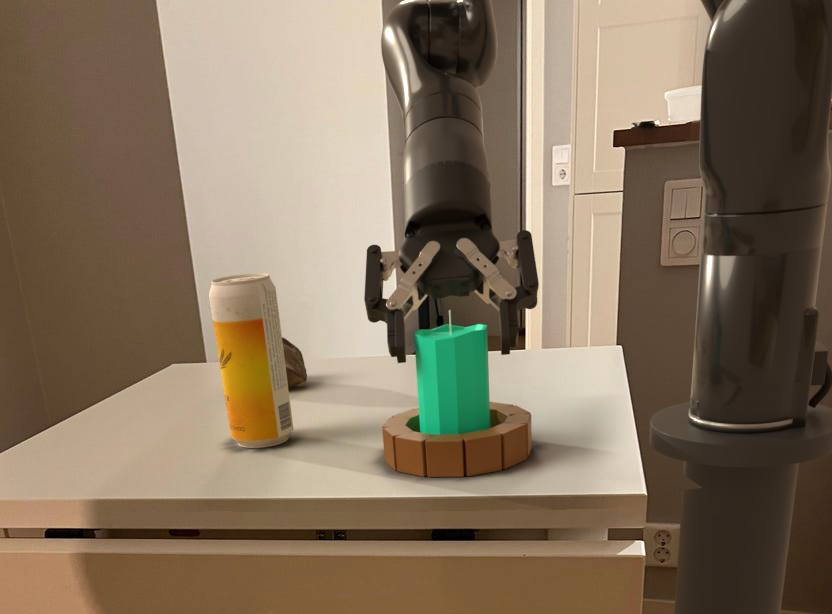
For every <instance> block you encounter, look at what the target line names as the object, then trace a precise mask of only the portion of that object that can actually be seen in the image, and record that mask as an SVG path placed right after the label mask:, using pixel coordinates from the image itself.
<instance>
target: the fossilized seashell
mask: <svg viewBox="0 0 832 614" xmlns="http://www.w3.org/2000/svg"><path fill="white" fill-rule="evenodd" d="M282 342H283V350H284V358H285V366H286V374H287V382H288V389H289V388H293V387H295V386H298V385H301V384H303V383H306V381H308V373H307V368H306V365H305V359H304V356H303V353H302V351H301V350H300V349H299V348H298V347H297V346H296V345H295V344H293V343H292V342H291V341H290V340H288V339H287V338H285V337H283V336H282Z"/></svg>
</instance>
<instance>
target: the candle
mask: <svg viewBox="0 0 832 614" xmlns="http://www.w3.org/2000/svg"><path fill="white" fill-rule="evenodd" d="M448 320H449V323H446V324H443V325H440V326H437V327H434V328H431V329H423V328H421V329H417V330H416V331H415V333H413V336H414V337H413V338H414V353H415V370H416V385H417V387H416V388H417V402H418V408H419V419H420V433H427V434H433V435H442V434H464V433H470V432H476V431H482V430H487V429H490V402H491V401H490V374H489V373H490V371H489V370H490V369H489V339H488V338H489V336H488V335H489V334H488V325H487V324H483V323H477V324H472V325H469V326H461V325H457V324H452V311H451V309H449V310H448Z"/></svg>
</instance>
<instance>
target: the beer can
mask: <svg viewBox="0 0 832 614" xmlns="http://www.w3.org/2000/svg"><path fill="white" fill-rule="evenodd" d="M210 283H211V286H210V289H209V293H208V298H209V299H208V300H209V304H210V305H209V306H210V311H211V317H212V322H213V331H214V336H215V342H216V350H217V356H218V362H219V368H220V374H221V381H222V388H223V394H224V400H225V407H226V412H227V419H228V425H229V432H230V437H231V438H232V440H234V441H235V442H237V445H238V446H239V447H241V448H245V449H262V448H263V449H264V448H270V447H274V446H278V445H281V444H284V443H285V442H287V441H288V440H289V439H290V435H291V434H292V432H293V431H294V423H293V415H292V406H291V399H290V398H291V397H290V392H289V388H288V382H287V374H286V366H285V358H284V350H283V342H282V337H283V335H282V328H281V320H280V313H279V304H278V297H277V289H276V286H275V284H274V282H273V281H272V279H271V277H270V274H269V273H263V272H260V273H259V272H258V273H245V274H243V273H242V274H235V275H228V276H223V277H218V278H215V279H212V280H211V282H210Z"/></svg>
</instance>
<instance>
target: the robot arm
mask: <svg viewBox="0 0 832 614" xmlns="http://www.w3.org/2000/svg"><path fill="white" fill-rule="evenodd" d="M700 2H701V4H702V6H703V8H704V10H705V12H706V14H707V15H708V18H709V19H710V22H711V23H710V26H709V29H708V32H707V37H706V41H705V45H704V52H703V60H702V72H701V89H700V90H701V92H700V114H699V115H700V118H699V147H698V148H699V149H698V150H699V151H698V158H699V159H698V166H699V173H700V179H701V182H702V183H701V184H702V187H703V207H702V211H703V212H702V220H701V221H702V222H701V238H700V252H699V267H698V284H697V298H696V311H695V313H696V314H695V328H694V343H693V357H692V358H693V359H692V373H691V386H690V387H691V389H690V396H689V401H690V409H689V415H688V420H689V422H690V423H691V424H692V425H694V426H696V427H699V428H702V429H706V430H710V431H716V432H725V433H743V434H745V433H765V432H773V431H779V430H784V429H788V428H795V427H806V420H807V412H808V405H809V406H811V407H813V408H815V407H816V406H817V404H820V403H821V402H822V400H823V399H824V398H825V397H826V396H827V395H828V394H829V392H830V391H831V388H832V368H831V367H830V363H829V361H828V358H829V350H828V349H827V347H826V346H825V345H824V344H823V342H822V341H821V340H817V337H818V336H817V335H818V330H819V323H820V322H819V321H820V310H819V308H817V307H816V303H817V302H816V301H817V293H818V285H819V277H820V269H821V268H820V267H821V260H822V252H823V243H824V235H825V227H826V218H827V210H828V204H827V203H828V201H829V195H830V188H831V187H830V186H831V180H832V179H831V178H832V167H831V163H830V157H829V156H830V155H829V130H830V129H829V127H830V119H831V108H832V0H700ZM494 13H495V12H494V6H493V1H492V0H403V1H400V2H399V3H397V4H396V5H394V7H393V8H392V9H391V10H390V11H389V13H388V14H387V16H386V17H385V20H384V23H383V25H382V30H381V37H380V50H381V58H382V63H383V67H384V70H385V74H386V77H387V80H388V83H389V85H390V87H391V89H392V92H393V94H394V96H395V99H396V101H397V104H398V107H399V109H400V113H401V116H402V125H403V127H402V129H403V161H402V169H401V184H402V185H401V186H402V188H401V196H402V218H403V219H402V221H403V222H402V224H403V242H402V245H401V247H400V248H399V250H392V251H391V250H390V251H382V247H381V246H380V245H378V244H371V245H369V246H368V247H367V249H366V258H365V260H366V261H365V277H364V296H363V297H364V299H363V301H364V306H365V311H366V316H367V320H368V321H369V322H370V323H373V324H375V323H379V322H384V323H385V324H386V341H387V348H388V353H389V355H390V357H391V358H396V362H397V364H404V363H405V364H406V363H407V346H406V344H407V343H406V341H407V340H406V339H407V338H406V322H405V321H406V320H407V319H408V317H409V316H410V315H411V313H412V312H413V311H414V312H415V311H417V310H418V309H419V308H420V306H421V305H422V304H423V302H424V301H425V300H426V299H427V297H432V300H439V299H444V298H447V297H451V296H452V297H458V298H461V297H470V293H473V292H474V293H475V294H476V295H477V296H478V297H479V299H481V300H482V301H483V302H484V303H485V304H487V305H489V304H490V305H491V306H492V307H493V308H494V309H495V310H496V311H498V325H499V341H500V342H499V343H500V355H501V356H506V355H510V354H511V348H517V345H518V342H519V320H518V318H519V317H518V313H519V311H521V310H523V309H526V310H532V309H535V308H536V307H537V306H538V292H539V288H540V287H539V286H540V285H539V284H540V283H539V276H538V270H537V269H538V268H537V263H536V255H535V249H534V243H533V235H532V233H531V232H530V231H529V230H528V229H527V230H526V229H523V230H520V231H519V232H517V234H516V238H512V239H504V240H499V239H498V238H497V236H495V234H494V232H493V217H492V201H491V200H492V199H491V181H490V169H489V161H488V160H489V159H488V156H487V150H486V147H485V136H484V119H483V118H484V117H483V106H482V101H481V97H480V94H479V92H478V90H477V89H479V88H482V86H483V85H485V83H486V82H487V81H488V80H489V79H490V76H491V75H492V73H493V72H494V70H495V66H496V64H497V60H498V59H497V58H498V51H499V50H498V47H499V46H498V33H497V25H496V19H495V14H494ZM500 258H503V259H505V260H506V261H507V264H508V265H509V266H510V267H511V268H512V269H514V270H516V269H517V274H518V281H519V285H518V286H515V287H514V286H513V285H512V284H511V283H510V282H509V281H508V280H506V278H505V277H504V276H503V275H502V273H501V270H500V269H499V268H498V267H497V266H496V265H497V263H498V262H499V260H500ZM397 268H399V269H400V270H401V272H402V273H403V275H402V277H401V278H400V280H399V283H398V286H397V288H396V289H394V291H393V292H392V294H391V295H390V296H389V297H388V298H384V297H383V296H384V282H387V281H389V278H390V277H392V274H393V271H394V270H395V269H397ZM812 386H820V388H819V389H818V390H817V391H816V393H815V394H813V396H812V397H811V398H810V395H811V387H812Z"/></svg>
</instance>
